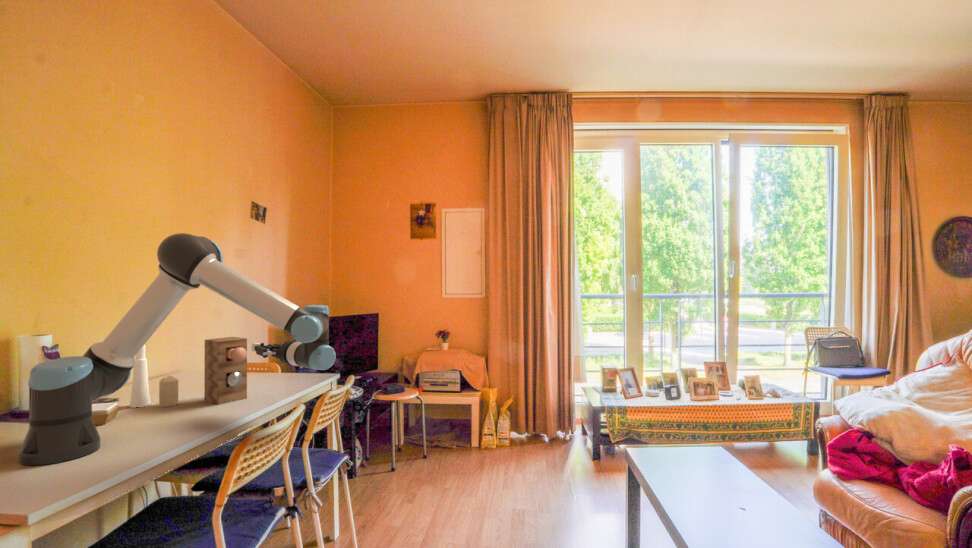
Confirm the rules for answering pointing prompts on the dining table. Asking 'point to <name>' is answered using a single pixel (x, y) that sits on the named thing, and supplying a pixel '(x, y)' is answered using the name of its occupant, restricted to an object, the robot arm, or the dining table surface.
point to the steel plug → (234, 379)
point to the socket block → (223, 370)
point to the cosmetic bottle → (140, 382)
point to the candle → (168, 391)
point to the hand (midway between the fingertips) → (253, 346)
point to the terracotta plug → (236, 354)
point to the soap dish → (104, 412)
